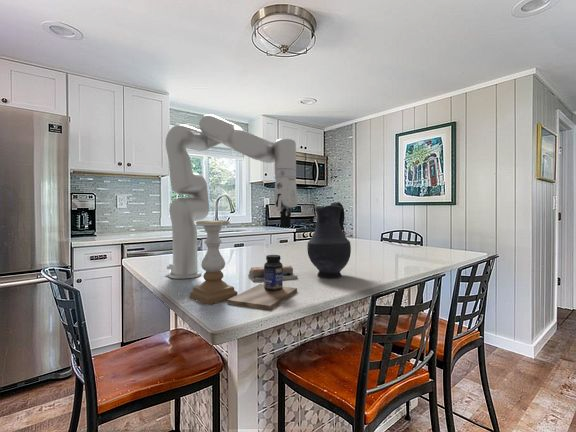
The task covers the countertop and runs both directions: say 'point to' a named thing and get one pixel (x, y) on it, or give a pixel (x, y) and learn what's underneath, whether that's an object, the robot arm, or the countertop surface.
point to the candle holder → (213, 268)
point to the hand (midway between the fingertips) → (285, 227)
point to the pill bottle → (273, 273)
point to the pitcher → (329, 242)
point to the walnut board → (262, 297)
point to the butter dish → (258, 273)
